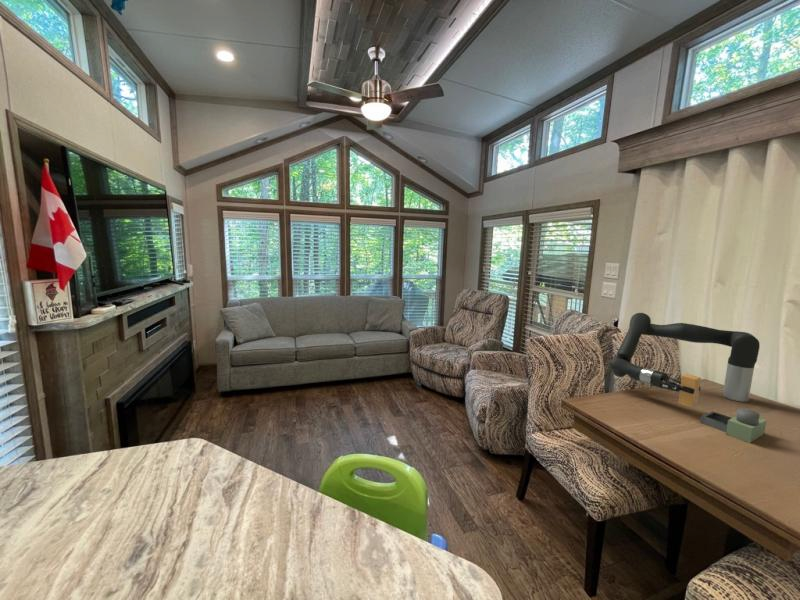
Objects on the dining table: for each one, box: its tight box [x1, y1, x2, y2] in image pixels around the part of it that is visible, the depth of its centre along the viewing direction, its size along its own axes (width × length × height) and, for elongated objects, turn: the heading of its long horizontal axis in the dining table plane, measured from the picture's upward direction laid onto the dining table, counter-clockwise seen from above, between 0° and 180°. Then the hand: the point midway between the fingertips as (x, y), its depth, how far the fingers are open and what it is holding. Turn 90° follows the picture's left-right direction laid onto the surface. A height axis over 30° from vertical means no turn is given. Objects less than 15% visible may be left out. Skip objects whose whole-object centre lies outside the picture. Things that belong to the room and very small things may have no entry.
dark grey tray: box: [700, 410, 732, 433], centre depth 141 cm, size 10×9×3 cm
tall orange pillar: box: [677, 373, 702, 408], centre depth 150 cm, size 5×5×13 cm
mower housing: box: [725, 408, 767, 444], centre depth 134 cm, size 14×7×10 cm, turn 117°
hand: (696, 390), depth 147 cm, fingers closed on tall orange pillar, 5 cm apart
